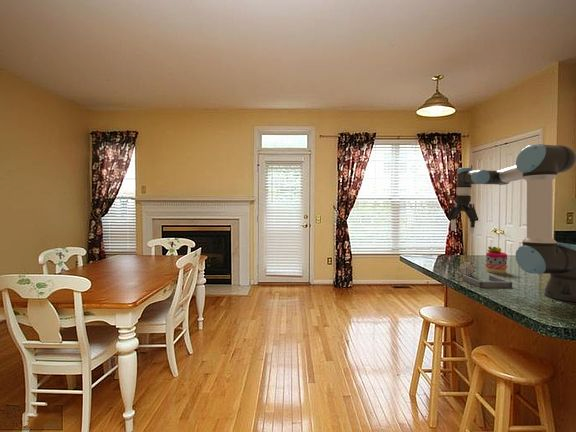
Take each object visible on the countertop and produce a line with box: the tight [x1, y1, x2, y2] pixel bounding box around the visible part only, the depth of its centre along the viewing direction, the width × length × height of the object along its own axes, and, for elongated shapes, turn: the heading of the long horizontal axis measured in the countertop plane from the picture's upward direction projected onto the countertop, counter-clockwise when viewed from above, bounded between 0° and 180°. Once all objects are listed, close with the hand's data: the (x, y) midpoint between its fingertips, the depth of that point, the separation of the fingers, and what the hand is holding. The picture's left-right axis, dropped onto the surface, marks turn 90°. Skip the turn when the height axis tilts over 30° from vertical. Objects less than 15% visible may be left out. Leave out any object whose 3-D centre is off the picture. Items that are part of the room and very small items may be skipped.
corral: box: [461, 274, 513, 288], centre depth 163 cm, size 15×15×2 cm
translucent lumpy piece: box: [457, 260, 477, 277], centre depth 179 cm, size 9×8×10 cm
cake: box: [485, 245, 508, 275], centre depth 191 cm, size 10×11×15 cm
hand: (461, 231), depth 189 cm, fingers open, 13 cm apart
